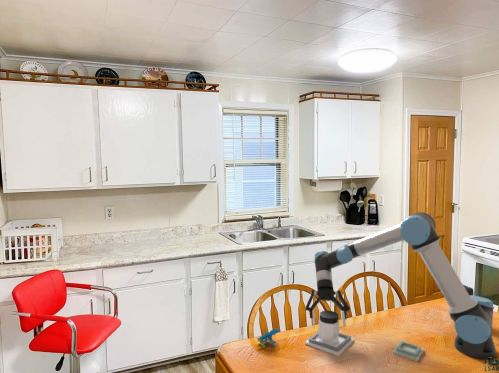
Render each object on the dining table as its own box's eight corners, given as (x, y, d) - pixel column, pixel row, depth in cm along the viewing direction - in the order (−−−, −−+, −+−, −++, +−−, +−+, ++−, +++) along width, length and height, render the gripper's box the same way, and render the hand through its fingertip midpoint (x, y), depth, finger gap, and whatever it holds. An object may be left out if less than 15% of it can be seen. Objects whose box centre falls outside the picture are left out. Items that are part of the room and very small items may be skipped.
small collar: (423, 351, 155) (424, 346, 155) (418, 361, 147) (418, 356, 147) (399, 343, 161) (399, 339, 161) (392, 353, 153) (392, 348, 153)
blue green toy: (273, 332, 168) (280, 324, 161) (279, 344, 165) (286, 337, 157) (253, 341, 163) (259, 333, 155) (258, 354, 160) (265, 347, 152)
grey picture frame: (353, 340, 164) (354, 336, 163) (339, 356, 151) (339, 351, 151) (321, 330, 173) (321, 326, 173) (305, 343, 161) (305, 339, 160)
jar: (330, 347, 156) (331, 320, 155) (315, 340, 162) (315, 314, 161) (341, 340, 162) (342, 314, 161) (326, 333, 168) (327, 308, 167)
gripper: (348, 285, 178) (355, 329, 165) (298, 284, 179) (300, 328, 166) (351, 278, 173) (359, 323, 159) (299, 277, 174) (302, 322, 160)
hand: (329, 325), depth 162 cm, fingers open, 13 cm apart
